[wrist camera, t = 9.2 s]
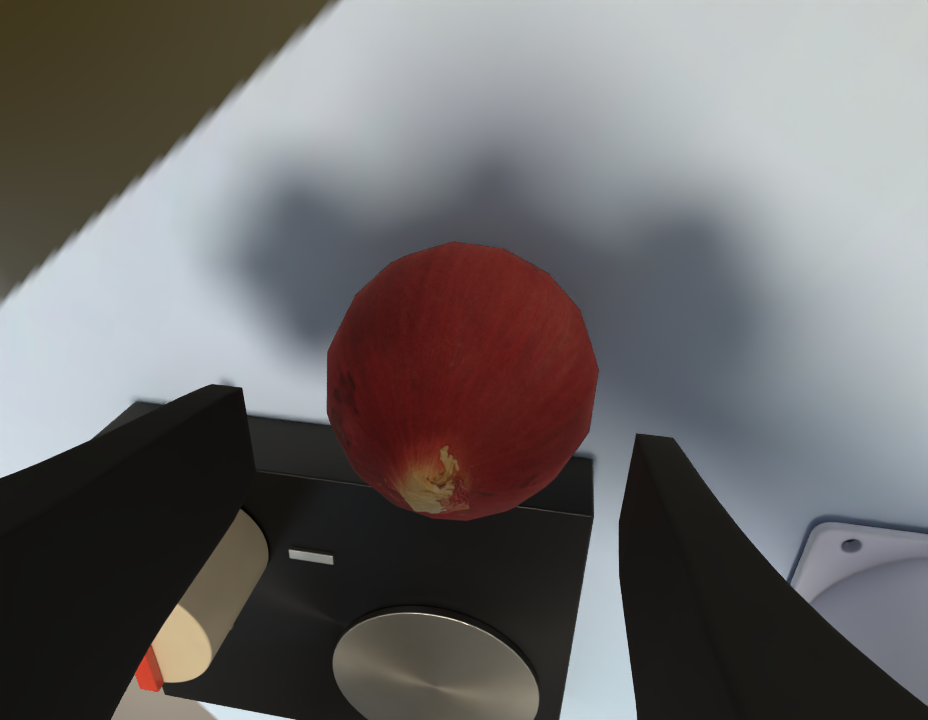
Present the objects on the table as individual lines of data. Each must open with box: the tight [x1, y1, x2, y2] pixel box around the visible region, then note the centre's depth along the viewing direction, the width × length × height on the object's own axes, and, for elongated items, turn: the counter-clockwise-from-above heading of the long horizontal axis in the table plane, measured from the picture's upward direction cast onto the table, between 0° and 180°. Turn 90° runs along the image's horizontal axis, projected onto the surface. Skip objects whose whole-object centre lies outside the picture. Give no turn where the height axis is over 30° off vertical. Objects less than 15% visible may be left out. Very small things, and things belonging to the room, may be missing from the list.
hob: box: [91, 403, 594, 720], centre depth 21 cm, size 16×13×3 cm
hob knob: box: [135, 509, 269, 692], centre depth 18 cm, size 4×4×4 cm
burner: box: [333, 606, 540, 720], centre depth 21 cm, size 7×7×1 cm
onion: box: [327, 242, 599, 521], centre depth 14 cm, size 6×6×8 cm
